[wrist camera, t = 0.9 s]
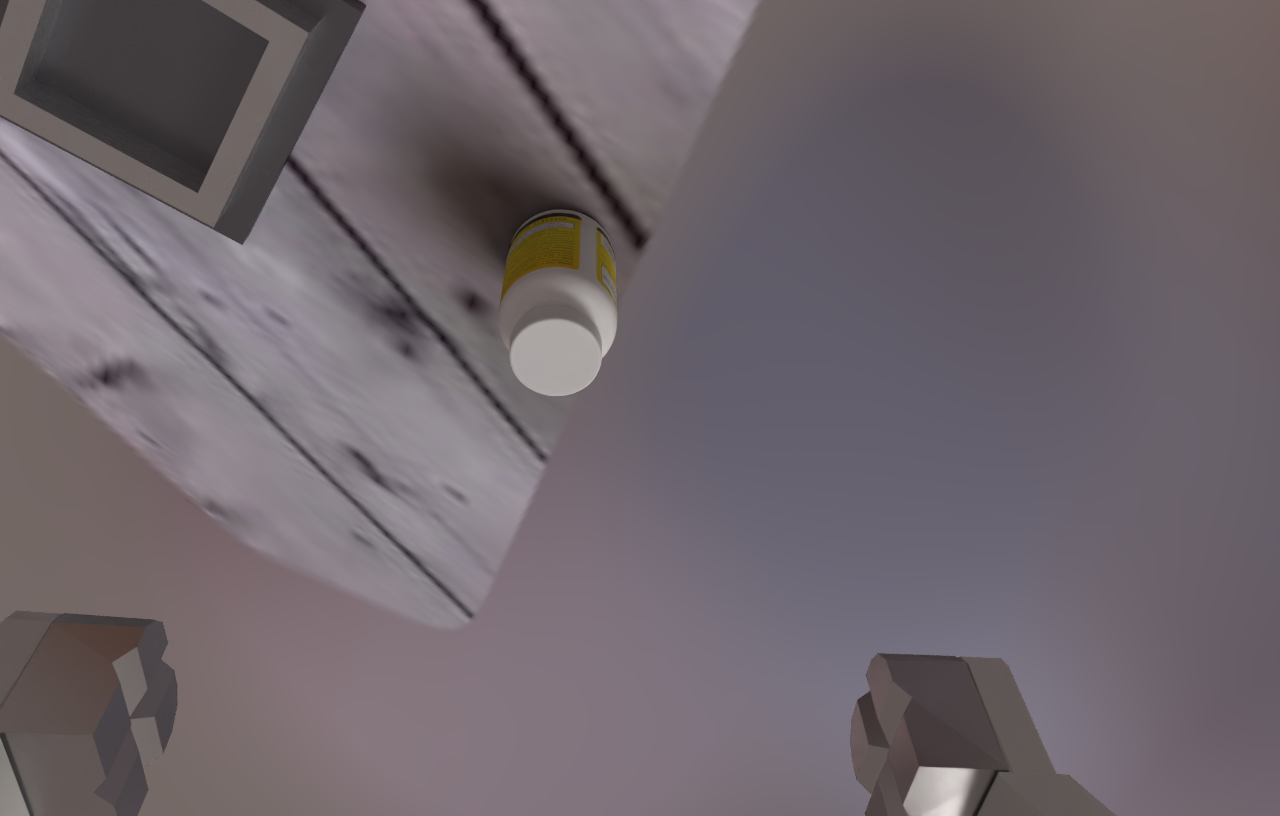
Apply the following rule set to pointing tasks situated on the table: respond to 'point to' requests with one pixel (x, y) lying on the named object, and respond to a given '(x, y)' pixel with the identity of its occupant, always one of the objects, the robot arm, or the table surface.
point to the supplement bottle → (558, 301)
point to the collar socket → (174, 91)
